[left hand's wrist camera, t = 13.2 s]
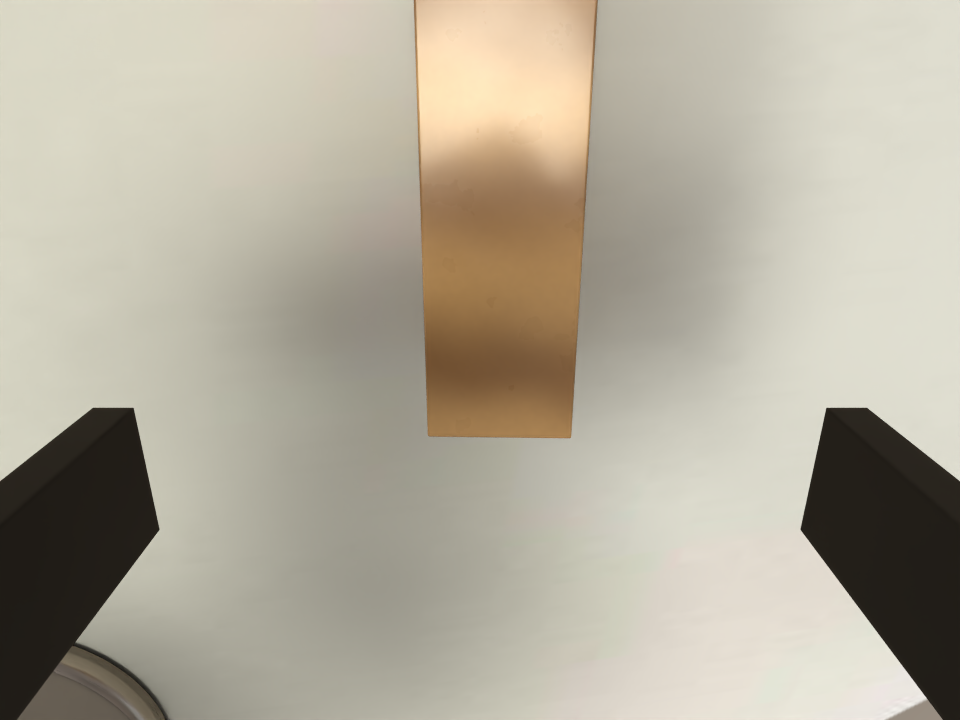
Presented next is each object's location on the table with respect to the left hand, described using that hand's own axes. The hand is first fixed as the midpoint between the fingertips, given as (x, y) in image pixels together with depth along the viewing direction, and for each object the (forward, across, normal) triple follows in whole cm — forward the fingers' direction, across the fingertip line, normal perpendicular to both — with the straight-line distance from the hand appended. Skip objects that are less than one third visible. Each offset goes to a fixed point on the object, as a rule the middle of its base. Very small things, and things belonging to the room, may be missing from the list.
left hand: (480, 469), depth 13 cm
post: (+17, -1, -26) cm, 32 cm away
